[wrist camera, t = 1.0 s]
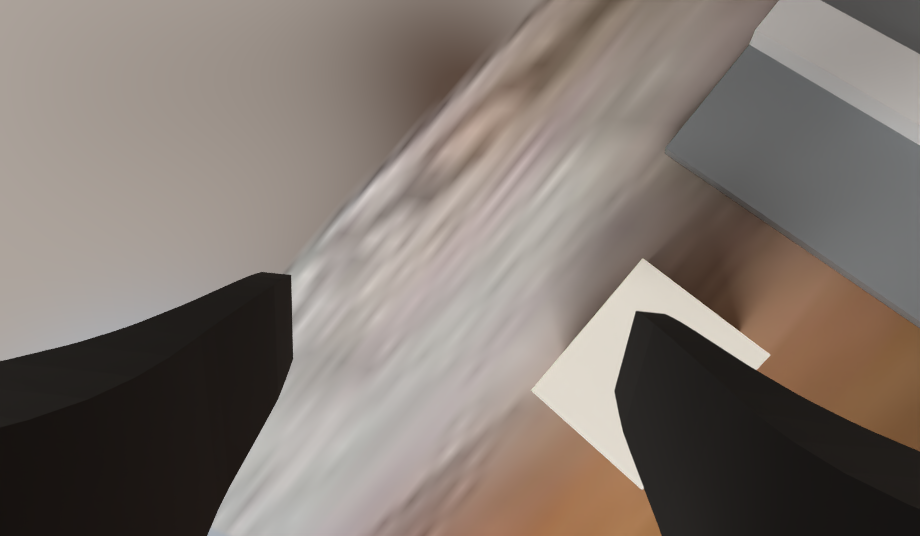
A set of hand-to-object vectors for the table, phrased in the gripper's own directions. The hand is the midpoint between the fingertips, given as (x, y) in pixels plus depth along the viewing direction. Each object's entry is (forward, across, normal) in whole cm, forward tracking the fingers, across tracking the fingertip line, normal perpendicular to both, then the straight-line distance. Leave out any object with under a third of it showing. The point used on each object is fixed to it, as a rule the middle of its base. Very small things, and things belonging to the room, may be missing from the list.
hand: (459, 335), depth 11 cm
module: (+8, -7, +4) cm, 11 cm away
